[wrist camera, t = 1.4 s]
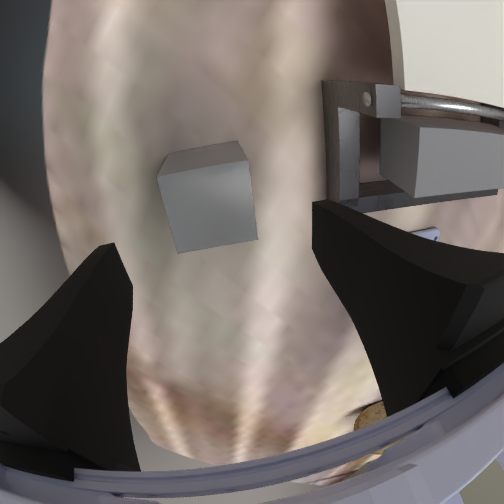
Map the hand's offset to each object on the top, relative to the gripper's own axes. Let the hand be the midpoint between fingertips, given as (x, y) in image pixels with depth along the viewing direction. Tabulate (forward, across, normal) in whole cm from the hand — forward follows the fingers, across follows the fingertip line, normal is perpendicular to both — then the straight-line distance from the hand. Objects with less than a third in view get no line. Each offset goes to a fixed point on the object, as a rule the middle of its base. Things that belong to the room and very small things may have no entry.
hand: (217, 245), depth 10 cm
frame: (+9, -17, 0) cm, 19 cm away
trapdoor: (+7, -17, -6) cm, 19 cm away
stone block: (+10, 0, +1) cm, 10 cm away
